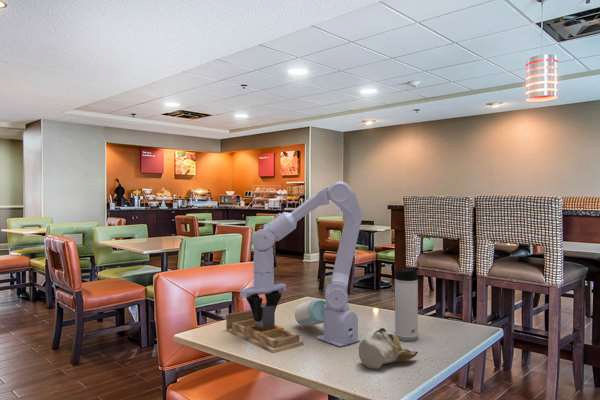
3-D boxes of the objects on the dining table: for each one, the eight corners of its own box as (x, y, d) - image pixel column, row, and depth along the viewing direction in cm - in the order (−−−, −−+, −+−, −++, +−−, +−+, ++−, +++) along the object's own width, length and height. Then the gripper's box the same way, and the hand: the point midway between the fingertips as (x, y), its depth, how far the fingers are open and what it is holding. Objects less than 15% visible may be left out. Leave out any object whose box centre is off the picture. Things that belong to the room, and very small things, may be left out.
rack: (303, 344, 117) (303, 326, 117) (273, 353, 110) (273, 333, 110) (254, 324, 135) (254, 308, 135) (226, 331, 129) (226, 314, 129)
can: (304, 298, 136) (321, 292, 126) (318, 316, 136) (336, 311, 126) (289, 313, 133) (305, 308, 122) (303, 331, 132) (321, 328, 122)
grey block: (274, 326, 122) (274, 305, 122) (262, 329, 119) (262, 307, 119) (266, 323, 125) (266, 302, 125) (254, 325, 122) (254, 304, 122)
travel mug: (419, 342, 118) (419, 269, 118) (395, 341, 119) (395, 268, 119) (418, 335, 124) (418, 266, 124) (394, 334, 126) (394, 265, 126)
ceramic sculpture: (346, 327, 103) (386, 319, 113) (345, 363, 103) (384, 352, 113) (382, 338, 95) (421, 329, 105) (380, 378, 95) (419, 365, 105)
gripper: (276, 267, 130) (276, 312, 130) (234, 272, 121) (234, 320, 121) (290, 270, 125) (290, 317, 125) (247, 275, 116) (247, 326, 116)
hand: (263, 319), depth 123 cm, fingers closed on grey block, 4 cm apart
